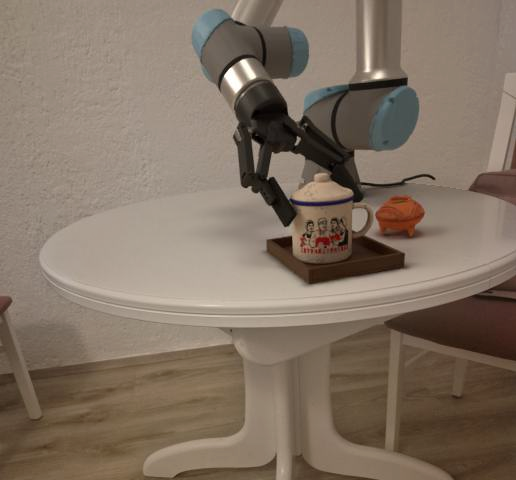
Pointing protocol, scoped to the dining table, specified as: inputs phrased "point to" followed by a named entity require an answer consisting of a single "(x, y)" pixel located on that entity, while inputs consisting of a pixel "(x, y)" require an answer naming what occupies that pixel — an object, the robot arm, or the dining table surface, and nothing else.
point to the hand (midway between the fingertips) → (326, 212)
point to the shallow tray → (360, 261)
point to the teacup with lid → (324, 221)
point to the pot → (399, 214)
